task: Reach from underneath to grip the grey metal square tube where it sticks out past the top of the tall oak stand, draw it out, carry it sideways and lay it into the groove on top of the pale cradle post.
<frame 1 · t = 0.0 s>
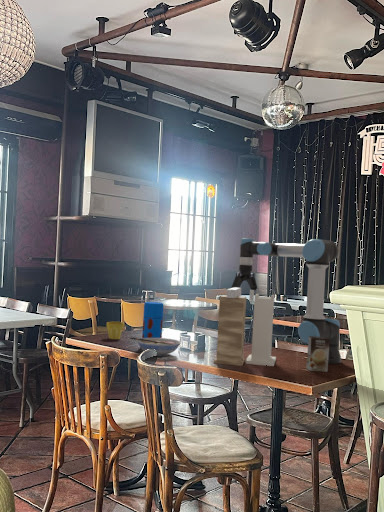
hand: (243, 301, 331), 28 cm above the table, tool pointing down, fingers open, 13 cm apart
ramen bowl: (158, 355, 294), on the table
cradle post: (261, 361, 292), on the table
square tube: (234, 296, 288), point 33 cm above the table, touching oak stand
coffee box: (316, 370, 277), on the table
oak stand: (229, 362, 285), on the table
plant pot: (114, 339, 342), on the table
blue carton: (151, 347, 317), on the table
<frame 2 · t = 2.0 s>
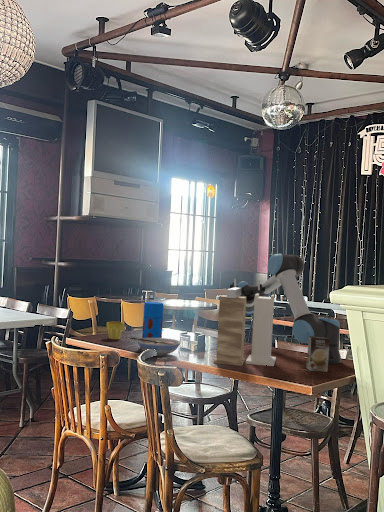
hand: (246, 281, 318), 40 cm above the table, tool pointing upward, fingers open, 13 cm apart
nothing on the table moved.
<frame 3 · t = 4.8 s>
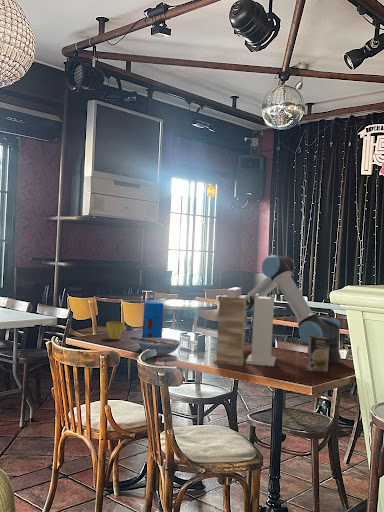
hand: (235, 293, 303), 34 cm above the table, tool pointing upward, fingers open, 13 cm apart
nothing on the table moved.
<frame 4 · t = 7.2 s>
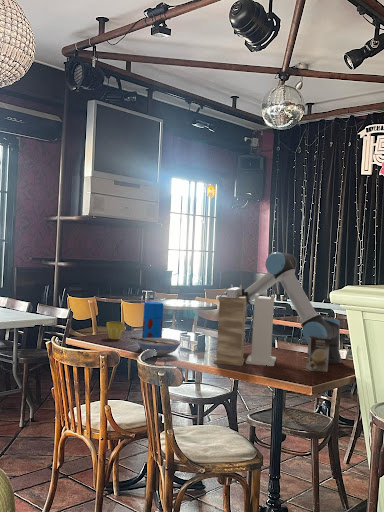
hand: (236, 286, 294), 38 cm above the table, tool pointing upward, fingers closed on square tube, 4 cm apart
square tube: (234, 296, 288), point 33 cm above the table, touching gripper, oak stand
everything else where it was.
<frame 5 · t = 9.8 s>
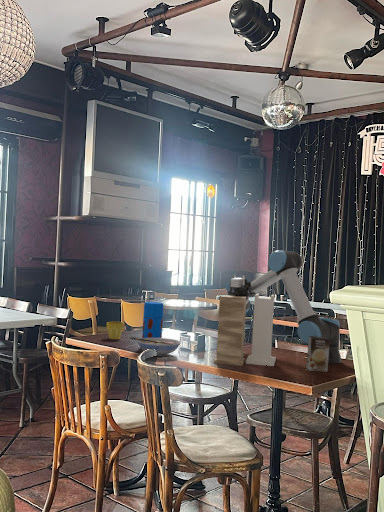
hand: (239, 276, 303), 43 cm above the table, tool pointing upward, fingers closed on square tube, 4 cm apart
square tube: (237, 286, 298), point 38 cm above the table, touching gripper
everything else where it was.
when the fingers open (38 cm above the table, at t = 12.4 s): square tube stays where it is, resting on cradle post.
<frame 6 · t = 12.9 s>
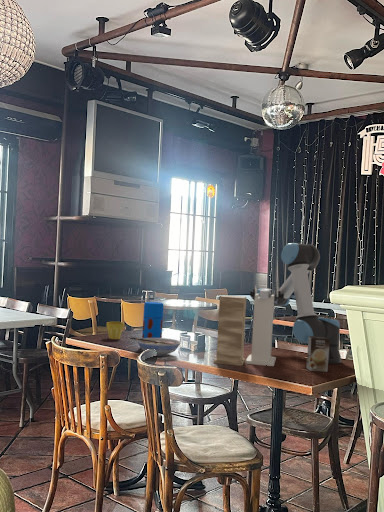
hand: (266, 288, 302), 38 cm above the table, tool pointing upward, fingers open, 11 cm apart
square tube: (265, 297, 295), point 33 cm above the table, touching cradle post
everything else where it was.
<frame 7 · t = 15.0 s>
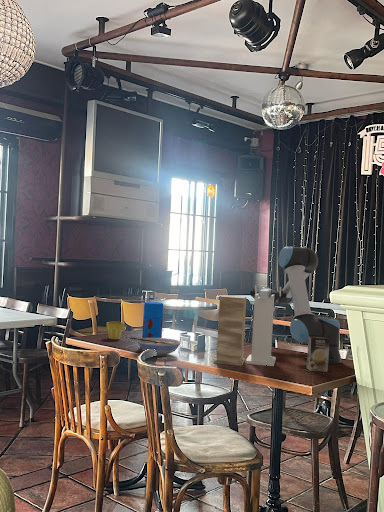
hand: (267, 287, 314), 37 cm above the table, tool pointing upward, fingers open, 13 cm apart
nothing on the table moved.
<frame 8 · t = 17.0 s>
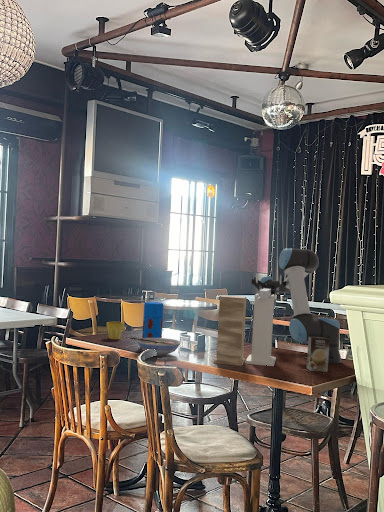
hand: (268, 275, 322), 44 cm above the table, tool pointing upward, fingers open, 13 cm apart
nothing on the table moved.
at the end: square tube inside the target area on the cradle post (2.0 cm from its centre), point 33.0 cm above the cradle post's base; square tube moved 18.1 cm from its start; the gripper is holding nothing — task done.
